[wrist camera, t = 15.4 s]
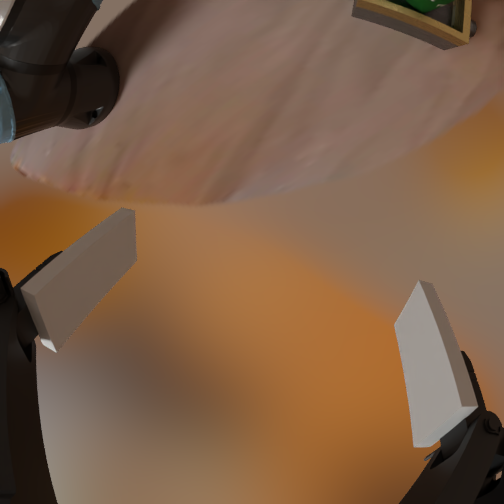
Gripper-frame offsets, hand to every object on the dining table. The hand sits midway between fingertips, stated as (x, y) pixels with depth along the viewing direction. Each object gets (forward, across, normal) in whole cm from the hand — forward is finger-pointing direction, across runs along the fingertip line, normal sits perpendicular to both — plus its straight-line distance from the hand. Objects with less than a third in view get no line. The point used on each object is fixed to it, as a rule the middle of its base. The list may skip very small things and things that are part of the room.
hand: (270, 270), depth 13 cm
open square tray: (+32, +12, +28) cm, 44 cm away
